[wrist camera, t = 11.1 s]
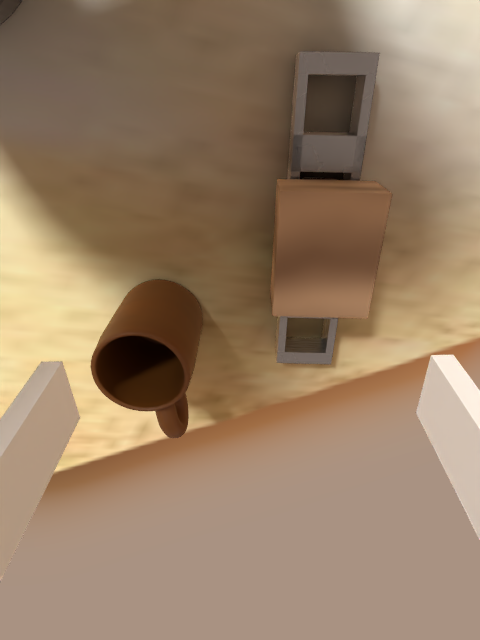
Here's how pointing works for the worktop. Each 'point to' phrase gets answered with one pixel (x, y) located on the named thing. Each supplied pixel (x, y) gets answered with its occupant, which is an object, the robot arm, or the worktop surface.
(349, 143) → the rail
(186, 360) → the mug
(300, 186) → the tan cardboard box
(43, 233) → the worktop surface
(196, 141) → the worktop surface
